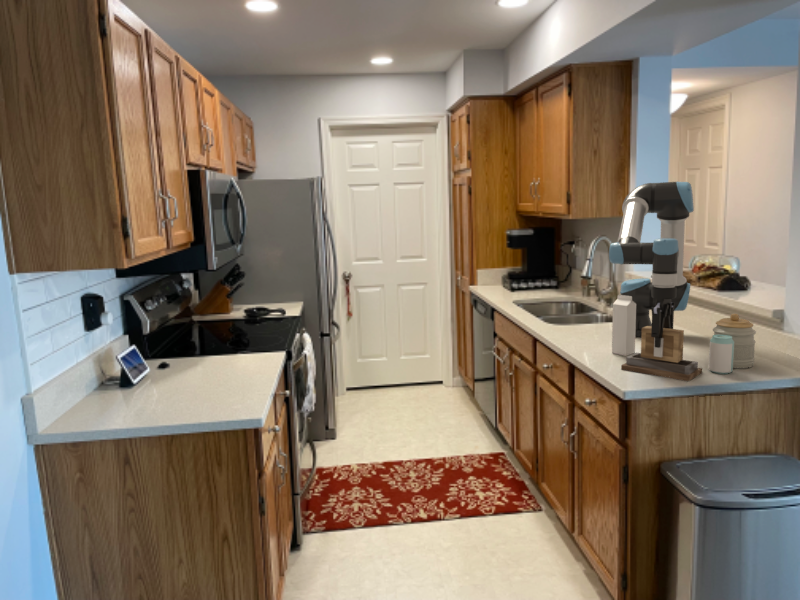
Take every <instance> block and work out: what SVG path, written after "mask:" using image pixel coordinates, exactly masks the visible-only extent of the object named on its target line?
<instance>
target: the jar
mask: <svg viewBox="0 0 800 600" xmlns="http://www.w3.org/2000/svg"><path fill="white" fill-rule="evenodd" d="M715 324H716V326H714V327H713V328H712V332H714V333H713V335H729V336H732V339H733V341H734V357H733V369H749V368H752V367H753V366H754V364H755V344H756V340H755V334H757V331H756V330H755V329H754V328H753V327H754V326H755V325H754V323H752V322H751V321H750V320H748V319H745V318H740V316H739V314H738V313H731V315H730V317H725V318H721V319H719V320H717V321H716V322H715ZM748 367H749V368H748Z"/></svg>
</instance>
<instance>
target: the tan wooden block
mask: <svg viewBox="0 0 800 600" xmlns="http://www.w3.org/2000/svg"><path fill="white" fill-rule="evenodd" d="M651 330H652V326H646V327H643V328H642V335H641V340H640V343H641V344H640V353H641V357H644V358H651V359H657V360H663V361H669V362H676V363H678V362H680V361H681V360H684V358H683V357H684V339H685V338H684V337H685V336H684V335H685V334H684V332H685V330H684V329H674V328H673V329H669V328H663V335H662V338H664V340H663V357H656V356H654V337H651Z"/></svg>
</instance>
